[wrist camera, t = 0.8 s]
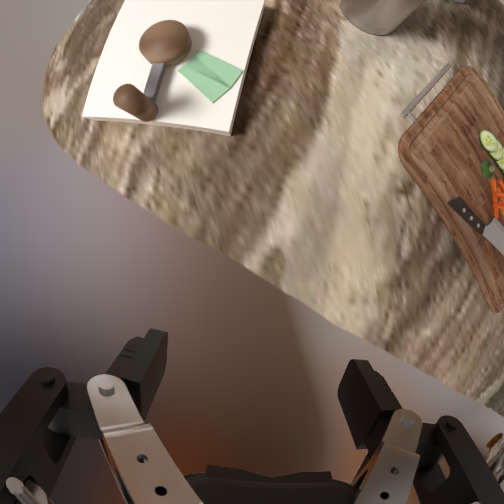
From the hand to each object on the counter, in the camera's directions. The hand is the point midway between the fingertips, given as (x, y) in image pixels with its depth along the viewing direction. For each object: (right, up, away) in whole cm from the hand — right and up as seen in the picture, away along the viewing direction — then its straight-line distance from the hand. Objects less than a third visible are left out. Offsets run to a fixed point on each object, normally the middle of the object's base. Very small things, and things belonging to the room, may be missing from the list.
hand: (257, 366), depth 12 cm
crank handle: (-11, +26, +17) cm, 33 cm away
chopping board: (+42, +15, +24) cm, 51 cm away
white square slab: (-11, +31, +19) cm, 38 cm away
